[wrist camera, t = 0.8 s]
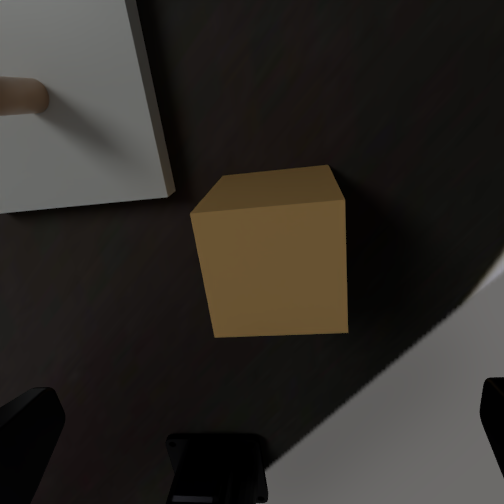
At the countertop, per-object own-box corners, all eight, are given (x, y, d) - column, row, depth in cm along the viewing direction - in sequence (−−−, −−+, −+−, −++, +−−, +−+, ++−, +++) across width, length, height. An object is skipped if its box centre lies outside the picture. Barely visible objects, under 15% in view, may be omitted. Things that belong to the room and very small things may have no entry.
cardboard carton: (332, 262, 18) (348, 332, 13) (237, 268, 19) (214, 337, 14) (328, 164, 17) (344, 199, 11) (223, 175, 17) (190, 213, 12)
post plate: (175, 190, 18) (127, 230, 13) (-2, 208, 19) (-110, 250, 14) (122, -61, 14) (21, -152, 9) (-94, -15, 15) (-290, -70, 10)
